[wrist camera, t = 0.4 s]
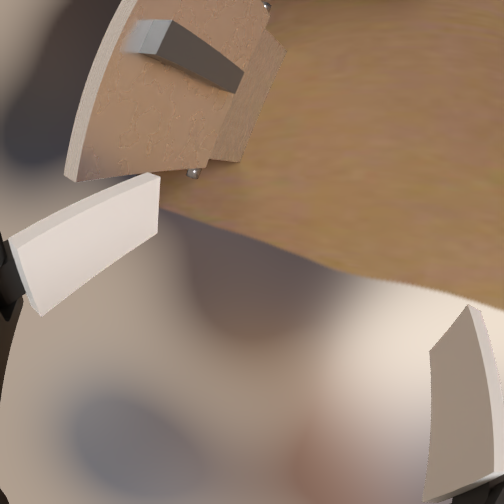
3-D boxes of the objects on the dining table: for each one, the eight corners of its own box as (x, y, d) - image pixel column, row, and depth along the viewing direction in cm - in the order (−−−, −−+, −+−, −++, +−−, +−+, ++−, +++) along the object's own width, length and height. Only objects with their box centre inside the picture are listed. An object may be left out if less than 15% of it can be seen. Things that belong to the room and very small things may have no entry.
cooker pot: (302, 40, 29) (269, -1, 20) (241, 182, 38) (191, 182, 29) (208, 27, 35) (165, 2, 25) (161, 144, 44) (110, 140, 34)
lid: (258, 13, 22) (283, 18, 21) (194, 163, 29) (217, 172, 29) (177, -79, 6) (216, -84, 6) (63, 175, 14) (89, 191, 13)
